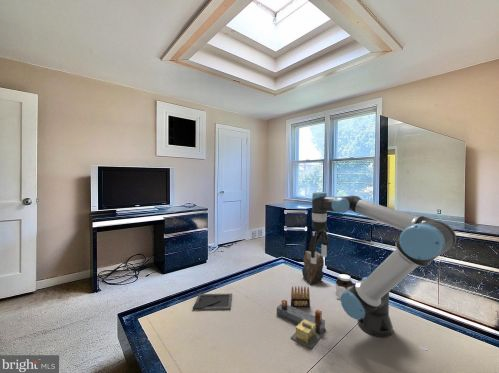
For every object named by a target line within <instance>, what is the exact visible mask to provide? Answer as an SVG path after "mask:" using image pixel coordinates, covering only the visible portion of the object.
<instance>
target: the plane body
mask: <svg viewBox="0 0 499 373" xmlns="http://www.w3.org/2000/svg"><path fill="white" fill-rule="evenodd" d="M322 313H323V311H322V310H319V309H316V310H315V312H314V315H313V314H311V313H308V312H306V311H304V310H301V309H300V308H294V307H292V306H291V305H290V304H288V300H286V299H283V300H281V303H280V304H279V305H278V306H277V307H276V315H277V316H278V317H281V318H282V319H285V320H286V321H289V322H291V323H293V324H295V325H297V326H298V325H299V324H300V323H301V322H302V321H303V320H304V319H305V320H307V321H310V322H312V323H314V324H316V334H318V335H321V334H322V332H324V330H326V319H323V315H322Z"/></svg>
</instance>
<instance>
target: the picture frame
mask: <svg viewBox="0 0 499 373" xmlns="http://www.w3.org/2000/svg"><path fill="white" fill-rule="evenodd" d="M232 300H233V293H198V294H197V297H196V299H195V302H194V304H193V306H192V311H193V310H198V311H231V310H232Z"/></svg>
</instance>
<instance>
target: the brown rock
mask: <svg viewBox="0 0 499 373" xmlns="http://www.w3.org/2000/svg"><path fill="white" fill-rule="evenodd" d="M302 260H303V267H302V270H301V272H302V277H303V278H304V279H305V280H306V281H307V282H306V281H305V280H304V279H303V280H304V281H305V282H306V283H307V284H308V285H309V286H312V285H316V284H318V283H322V282H323V281H322V280H323V278H324V272H323V269H324V265H325V264H324V262H325V260H324V257H323V256H321V253H320V252H319V251H316V264H313V263H311V251H309V250H305V251H304V256H303V259H302Z"/></svg>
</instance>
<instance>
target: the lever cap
mask: <svg viewBox="0 0 499 373" xmlns="http://www.w3.org/2000/svg"><path fill="white" fill-rule="evenodd" d="M295 332H296V339H298V340H300V341H302V342H304V343H306V344H309V343H310V341H311V340H312V339H313V338H314V336H315V335H316V334H317V333H316V324H314V323H312V322H310V321H307V320H305V319H304V320H303V321H302V322H301V323H300V324H299V325H298V324H297V325H296V326H295Z"/></svg>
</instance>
